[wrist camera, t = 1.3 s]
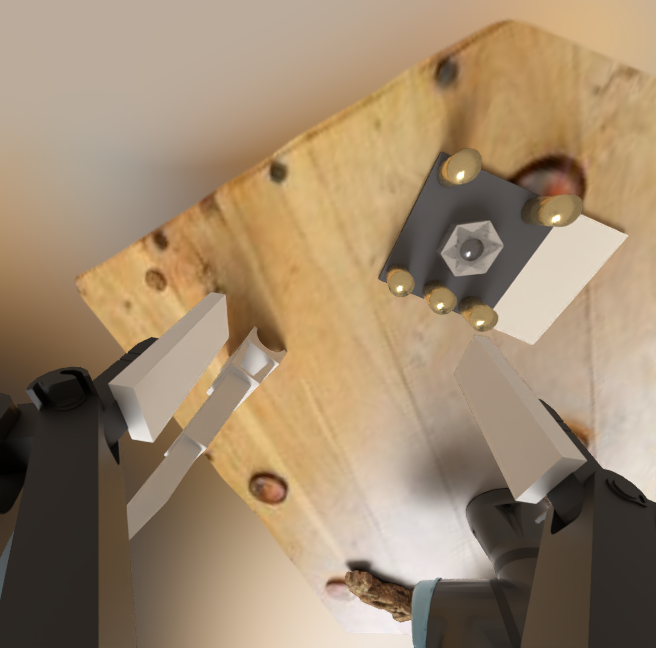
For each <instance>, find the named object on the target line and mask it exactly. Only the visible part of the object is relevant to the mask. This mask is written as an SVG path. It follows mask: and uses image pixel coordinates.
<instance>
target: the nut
mask: <svg viewBox="0 0 656 648" xmlns="http://www.w3.org/2000/svg"><path fill="white" fill-rule="evenodd" d="M503 246H504V245H503V243H502V241H501V240H500V238H499V236H498V234H497V232H496V231H495V229H494V227H493V225H492V223H491V222H490V221H488V220H477V221H470V222H463V223H456V224H450V226H449V228H448V230H447V231H446V233H445V235H444V237H443V239H442V240H441V242H440V244H439V246H438V247H437V249H436V252H437V254H438V255H439V257H440V259H441V260H442V262H443V263H444V265H445V266H446V268H447V270H448V271H449V272H450V273H451V274H452V275H454V276H464V275H473V274H483V273H486V272H487V270H488V269H489V267H490V266H491V264H492V263H493V261H494V260H495V258H496V257H497V255H498V254H499V252H500V251H501V249H502V248H503Z"/></svg>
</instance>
